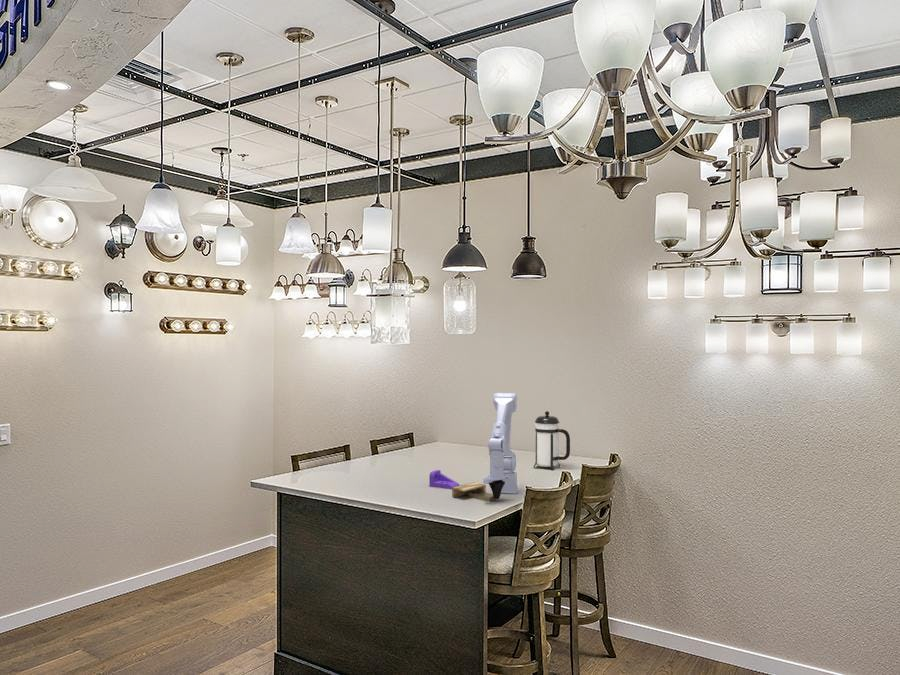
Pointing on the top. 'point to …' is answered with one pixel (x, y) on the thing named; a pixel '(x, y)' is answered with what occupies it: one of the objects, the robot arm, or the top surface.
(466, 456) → the top surface
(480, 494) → the grey rectangular block
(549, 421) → the coffee press
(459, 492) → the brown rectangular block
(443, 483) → the bracket
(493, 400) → the robot arm
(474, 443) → the top surface
